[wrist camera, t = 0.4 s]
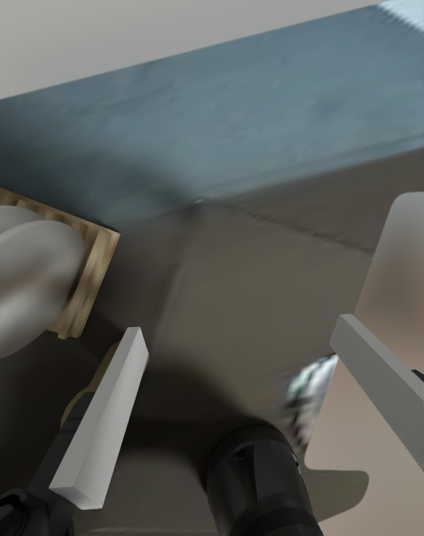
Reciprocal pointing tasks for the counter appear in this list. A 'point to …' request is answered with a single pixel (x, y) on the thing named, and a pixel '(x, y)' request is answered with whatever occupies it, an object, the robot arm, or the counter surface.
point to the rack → (47, 270)
